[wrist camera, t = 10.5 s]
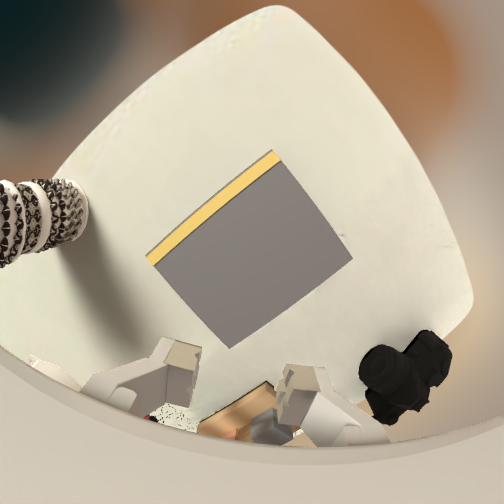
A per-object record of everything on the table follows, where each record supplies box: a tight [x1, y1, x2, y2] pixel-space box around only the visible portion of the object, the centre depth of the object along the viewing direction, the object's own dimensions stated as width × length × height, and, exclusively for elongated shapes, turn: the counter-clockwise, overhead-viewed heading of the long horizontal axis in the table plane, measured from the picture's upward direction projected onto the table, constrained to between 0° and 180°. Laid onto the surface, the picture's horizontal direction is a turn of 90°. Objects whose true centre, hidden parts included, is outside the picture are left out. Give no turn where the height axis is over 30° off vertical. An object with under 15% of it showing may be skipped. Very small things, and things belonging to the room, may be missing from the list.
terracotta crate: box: [219, 428, 238, 441], centre depth 32 cm, size 4×4×4 cm
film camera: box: [358, 330, 452, 426], centre depth 30 cm, size 15×10×9 cm, turn 144°
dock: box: [145, 149, 353, 349], centre depth 29 cm, size 17×14×3 cm
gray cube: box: [251, 407, 293, 445], centre depth 31 cm, size 4×4×4 cm
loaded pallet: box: [197, 381, 301, 443], centre depth 31 cm, size 14×10×12 cm
